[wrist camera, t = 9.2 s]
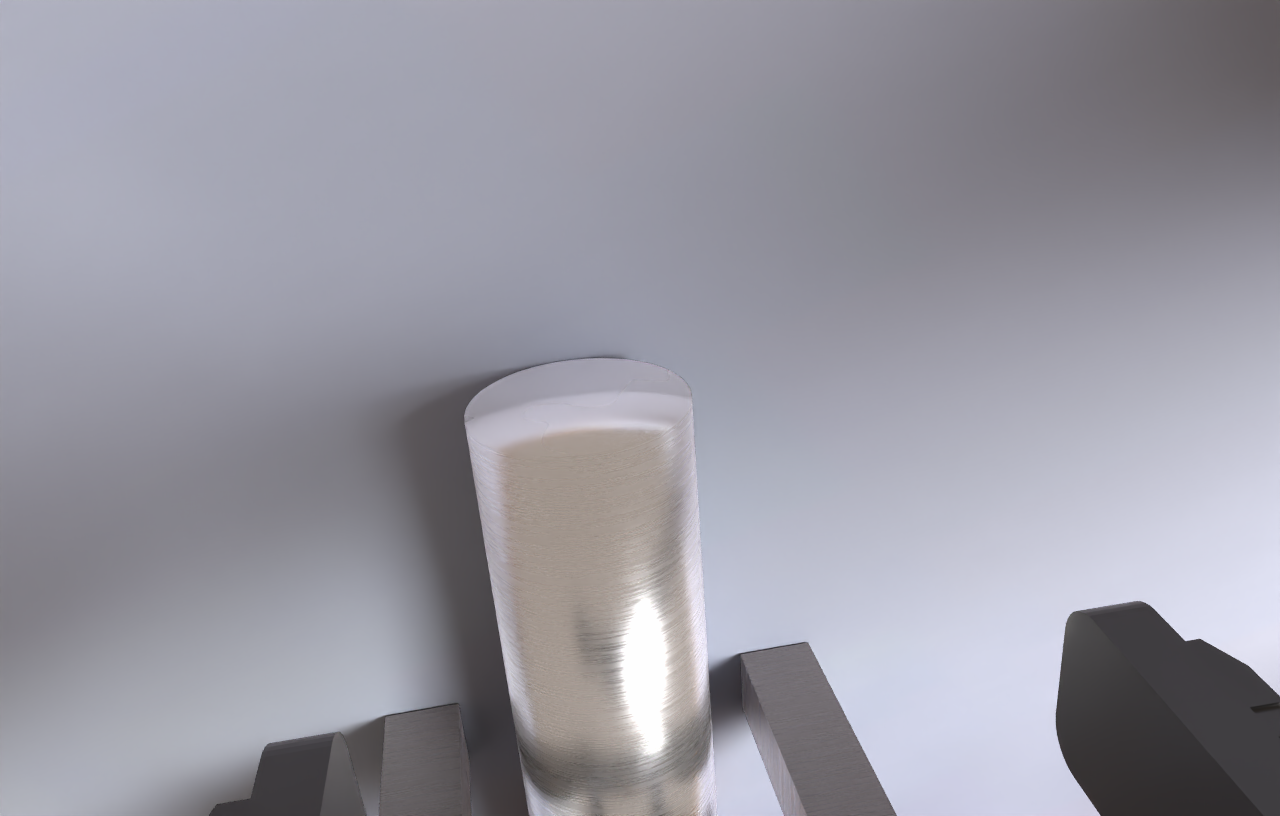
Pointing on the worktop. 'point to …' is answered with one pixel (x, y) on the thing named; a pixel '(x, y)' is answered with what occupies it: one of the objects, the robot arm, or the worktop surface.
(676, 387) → the silver cosmetic tube
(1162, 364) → the worktop surface
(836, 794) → the frame
